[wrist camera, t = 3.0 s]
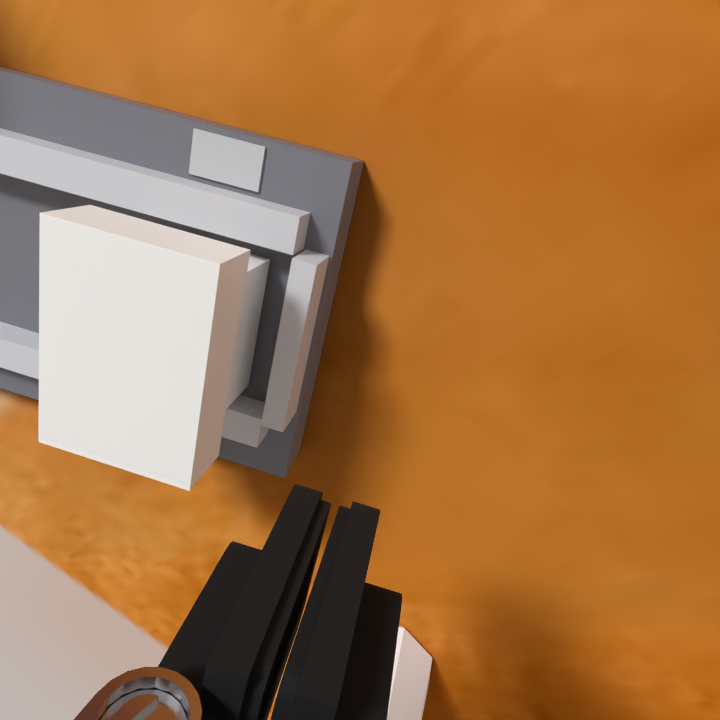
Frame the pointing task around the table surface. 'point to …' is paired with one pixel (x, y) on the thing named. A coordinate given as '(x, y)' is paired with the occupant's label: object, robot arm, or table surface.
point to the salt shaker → (409, 678)
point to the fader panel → (183, 212)
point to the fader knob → (142, 340)
